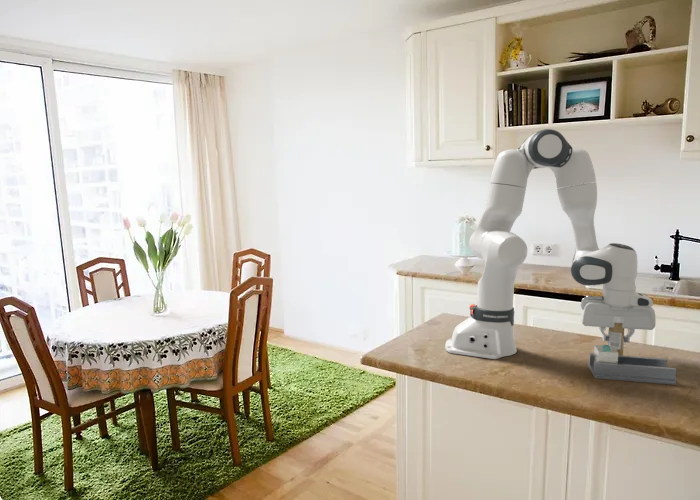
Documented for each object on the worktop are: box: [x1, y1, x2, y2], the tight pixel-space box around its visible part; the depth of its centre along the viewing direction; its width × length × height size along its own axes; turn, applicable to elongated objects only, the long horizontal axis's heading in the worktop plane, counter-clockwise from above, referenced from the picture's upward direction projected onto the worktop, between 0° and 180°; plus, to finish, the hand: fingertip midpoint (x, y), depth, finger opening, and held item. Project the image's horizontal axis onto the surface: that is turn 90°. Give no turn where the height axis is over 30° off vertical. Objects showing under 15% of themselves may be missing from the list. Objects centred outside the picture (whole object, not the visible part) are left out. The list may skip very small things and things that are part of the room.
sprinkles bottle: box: [607, 317, 626, 356], centre depth 159 cm, size 5×5×14 cm
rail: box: [587, 344, 677, 386], centre depth 146 cm, size 20×10×8 cm, turn 75°
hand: (615, 341), depth 160 cm, fingers closed on sprinkles bottle, 4 cm apart
